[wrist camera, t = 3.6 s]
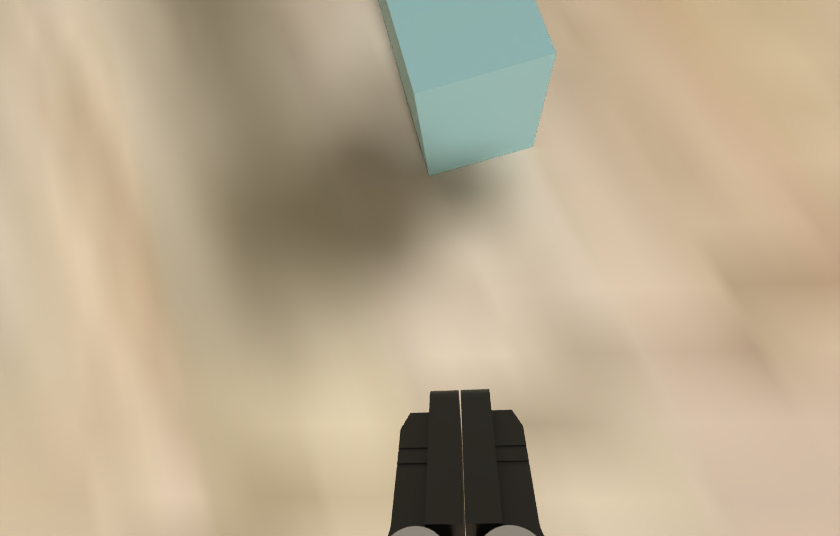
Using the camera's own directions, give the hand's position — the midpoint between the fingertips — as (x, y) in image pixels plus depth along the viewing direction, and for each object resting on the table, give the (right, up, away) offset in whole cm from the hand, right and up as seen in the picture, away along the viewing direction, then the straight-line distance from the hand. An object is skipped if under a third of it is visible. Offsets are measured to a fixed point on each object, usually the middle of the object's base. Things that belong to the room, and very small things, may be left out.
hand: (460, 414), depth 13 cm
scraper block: (+1, +16, +17) cm, 24 cm away
